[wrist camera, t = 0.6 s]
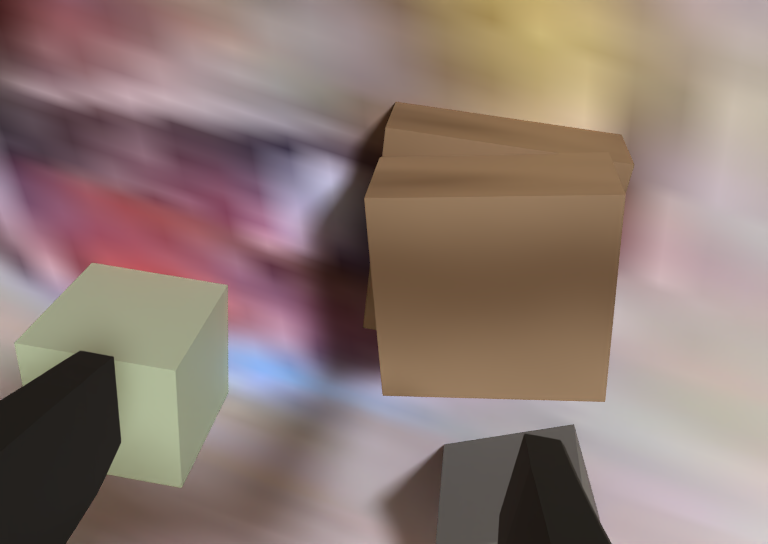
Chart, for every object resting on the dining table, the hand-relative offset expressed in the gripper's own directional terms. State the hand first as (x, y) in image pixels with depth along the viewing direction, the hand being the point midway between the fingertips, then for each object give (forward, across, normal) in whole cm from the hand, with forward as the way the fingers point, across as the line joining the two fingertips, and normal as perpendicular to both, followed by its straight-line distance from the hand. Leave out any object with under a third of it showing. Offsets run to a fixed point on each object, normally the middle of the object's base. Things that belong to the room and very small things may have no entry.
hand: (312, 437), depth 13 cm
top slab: (+8, -3, 0) cm, 8 cm away
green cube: (+10, +7, +6) cm, 13 cm away
